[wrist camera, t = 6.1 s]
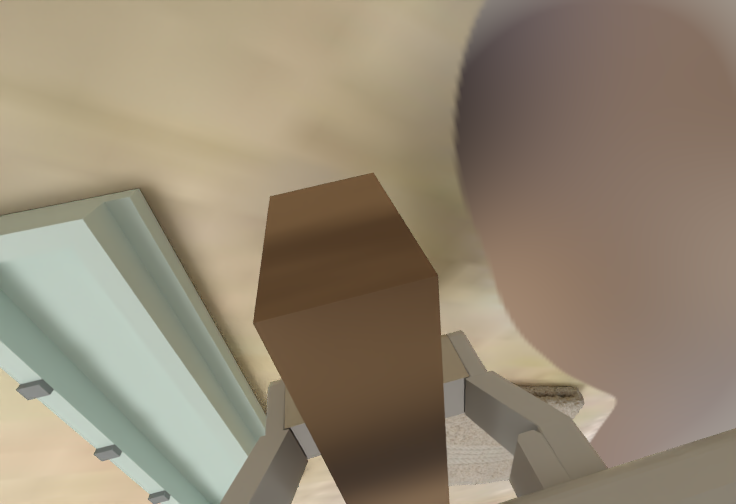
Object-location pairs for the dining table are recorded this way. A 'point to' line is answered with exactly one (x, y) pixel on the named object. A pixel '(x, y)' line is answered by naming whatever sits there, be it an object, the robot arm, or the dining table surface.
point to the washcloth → (484, 454)
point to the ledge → (124, 346)
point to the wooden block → (357, 338)
